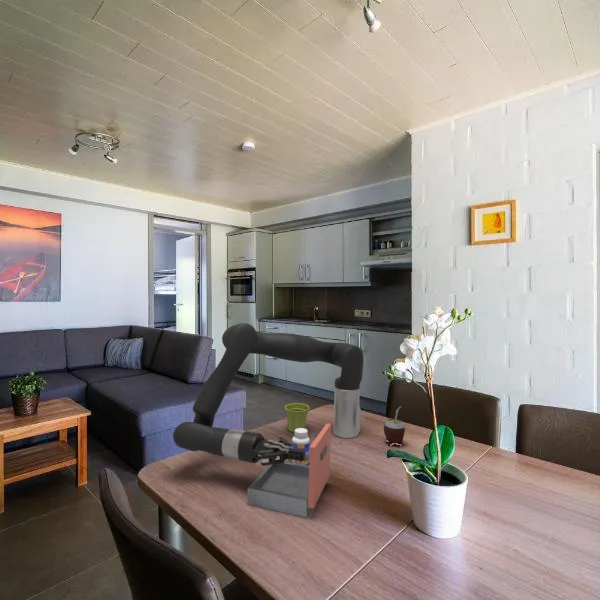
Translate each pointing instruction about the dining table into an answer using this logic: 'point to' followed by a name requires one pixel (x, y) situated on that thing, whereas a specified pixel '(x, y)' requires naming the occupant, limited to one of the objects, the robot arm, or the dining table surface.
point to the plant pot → (296, 415)
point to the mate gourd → (394, 430)
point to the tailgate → (319, 464)
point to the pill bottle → (301, 444)
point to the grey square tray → (282, 489)
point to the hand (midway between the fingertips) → (304, 456)
